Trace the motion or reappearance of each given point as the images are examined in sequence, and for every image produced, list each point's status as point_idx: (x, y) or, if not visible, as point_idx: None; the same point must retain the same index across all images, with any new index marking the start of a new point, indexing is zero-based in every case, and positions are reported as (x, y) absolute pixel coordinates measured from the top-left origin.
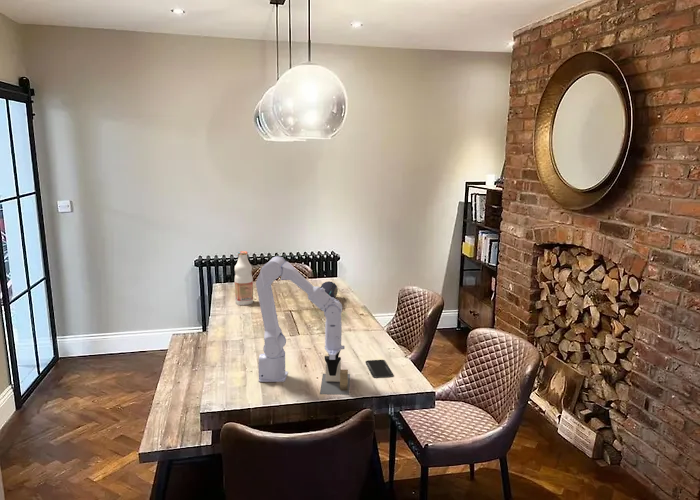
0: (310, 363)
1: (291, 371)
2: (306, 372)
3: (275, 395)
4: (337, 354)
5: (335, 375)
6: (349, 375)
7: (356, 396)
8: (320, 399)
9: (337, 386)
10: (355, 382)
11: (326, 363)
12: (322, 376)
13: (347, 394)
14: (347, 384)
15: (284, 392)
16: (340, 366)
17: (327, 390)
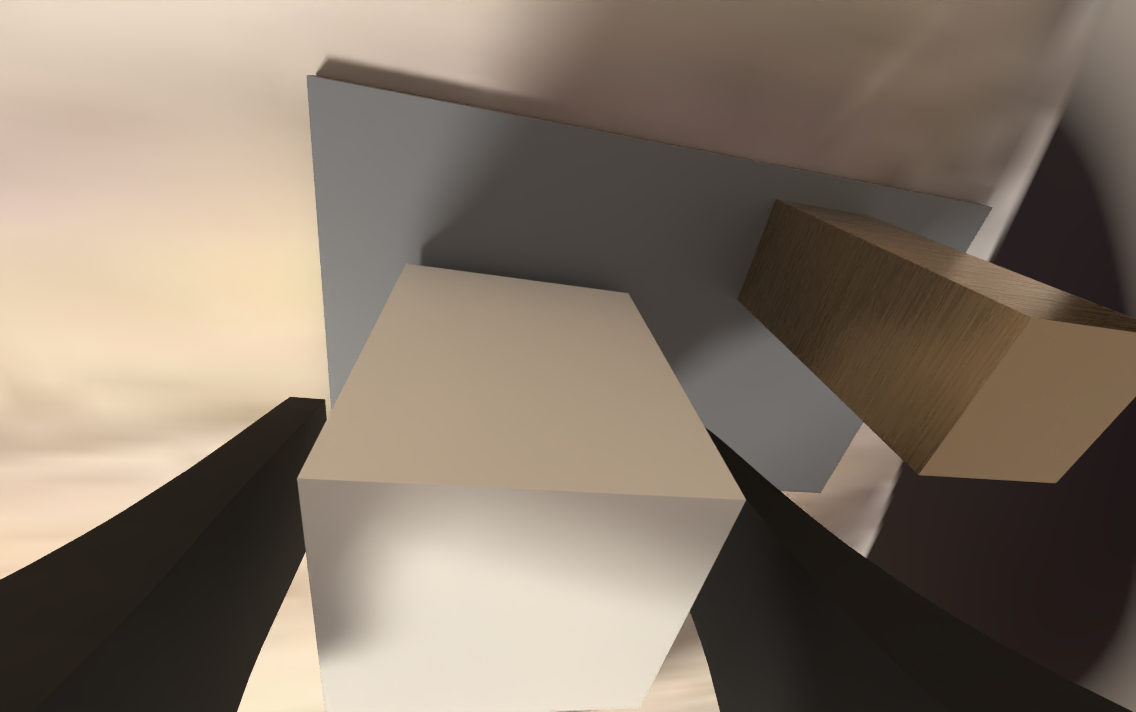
0: (14, 571)
1: (293, 674)
2: (297, 588)
3: (699, 695)
4: (152, 641)
5: (705, 428)
6: (375, 97)
7: (1046, 103)
8: (885, 478)
9: (723, 330)
10: (623, 19)
11: (625, 701)
12: None
13: (970, 231)
14: (939, 243)
15: (673, 667)
16: (660, 432)
17: (777, 433)
